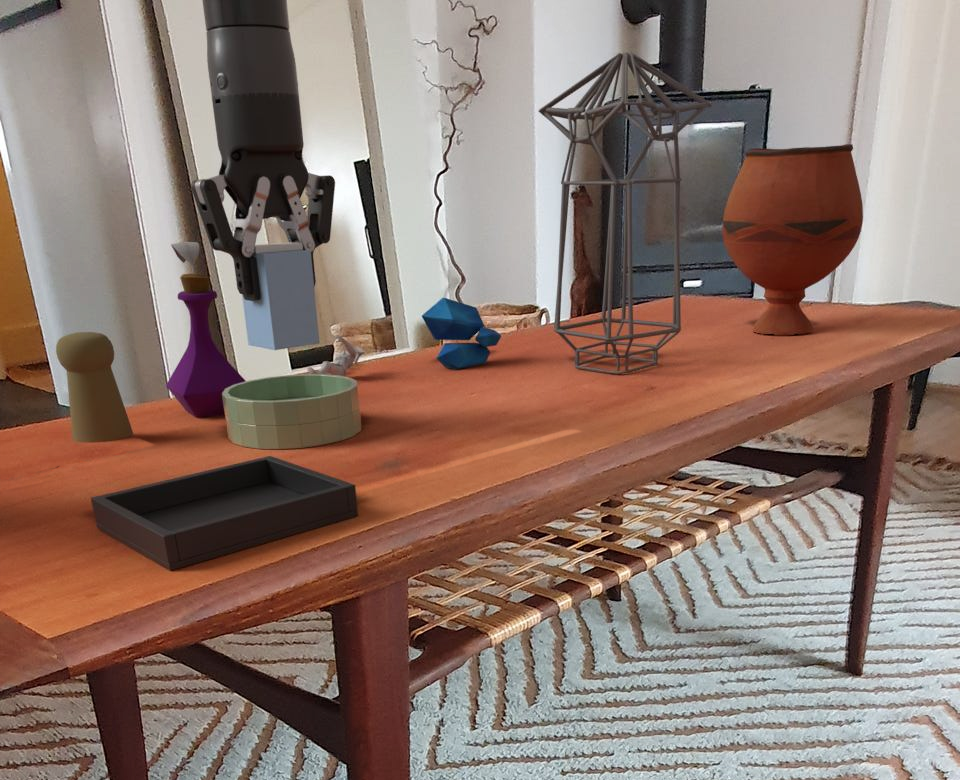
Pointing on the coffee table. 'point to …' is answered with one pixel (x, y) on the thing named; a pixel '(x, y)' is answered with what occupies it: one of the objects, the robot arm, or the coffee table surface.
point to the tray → (223, 510)
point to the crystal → (459, 333)
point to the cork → (92, 388)
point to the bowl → (292, 411)
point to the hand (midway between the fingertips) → (278, 296)
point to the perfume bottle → (200, 347)
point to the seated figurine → (340, 360)
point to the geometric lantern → (573, 114)
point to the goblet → (792, 225)
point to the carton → (282, 299)
